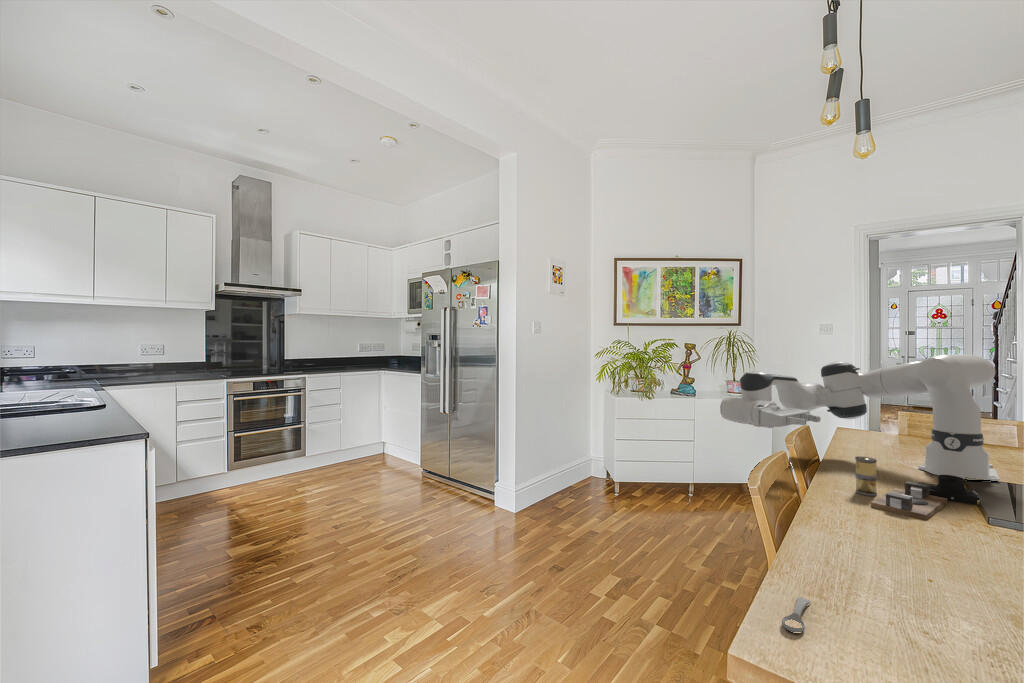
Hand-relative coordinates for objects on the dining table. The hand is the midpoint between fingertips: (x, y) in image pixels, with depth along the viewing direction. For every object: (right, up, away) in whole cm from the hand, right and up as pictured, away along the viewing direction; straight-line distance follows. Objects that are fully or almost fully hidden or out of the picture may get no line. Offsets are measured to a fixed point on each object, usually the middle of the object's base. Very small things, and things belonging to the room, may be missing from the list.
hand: (812, 420), depth 141 cm
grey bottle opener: (-48, -19, -69) cm, 87 cm away
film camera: (+27, -19, -16) cm, 36 cm away
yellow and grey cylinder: (+8, -19, -12) cm, 23 cm away
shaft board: (+12, -19, -21) cm, 30 cm away
